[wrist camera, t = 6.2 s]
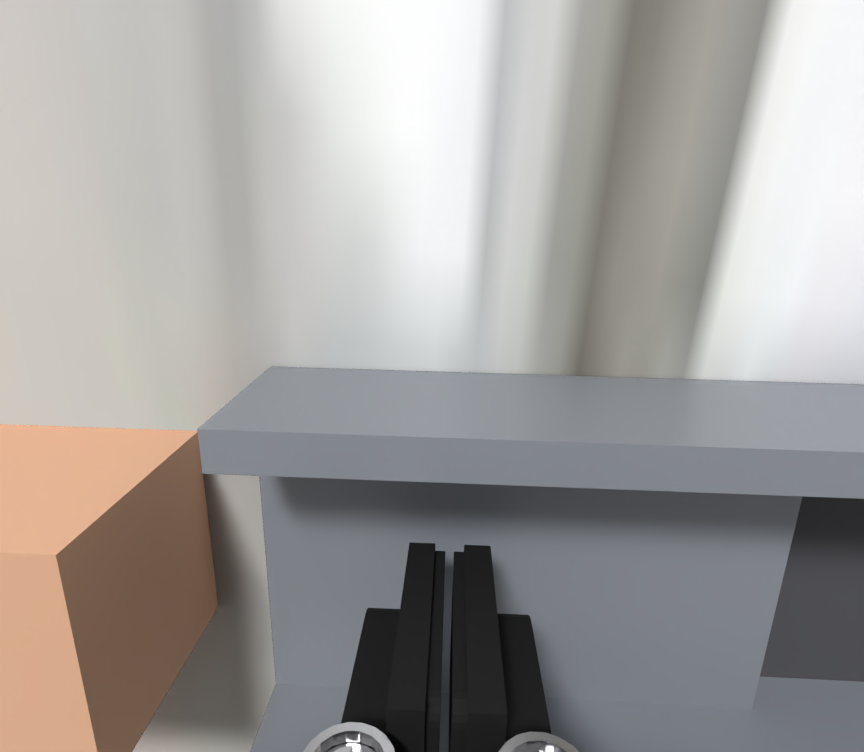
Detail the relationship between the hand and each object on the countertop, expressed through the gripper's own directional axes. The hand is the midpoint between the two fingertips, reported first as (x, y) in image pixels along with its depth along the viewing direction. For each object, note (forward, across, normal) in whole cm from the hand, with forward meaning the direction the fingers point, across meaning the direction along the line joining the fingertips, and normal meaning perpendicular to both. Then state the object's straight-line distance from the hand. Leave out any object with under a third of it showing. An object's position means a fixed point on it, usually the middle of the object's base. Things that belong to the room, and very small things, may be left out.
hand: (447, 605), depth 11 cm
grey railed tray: (+2, -6, 0) cm, 6 cm away
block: (0, +6, 0) cm, 6 cm away
